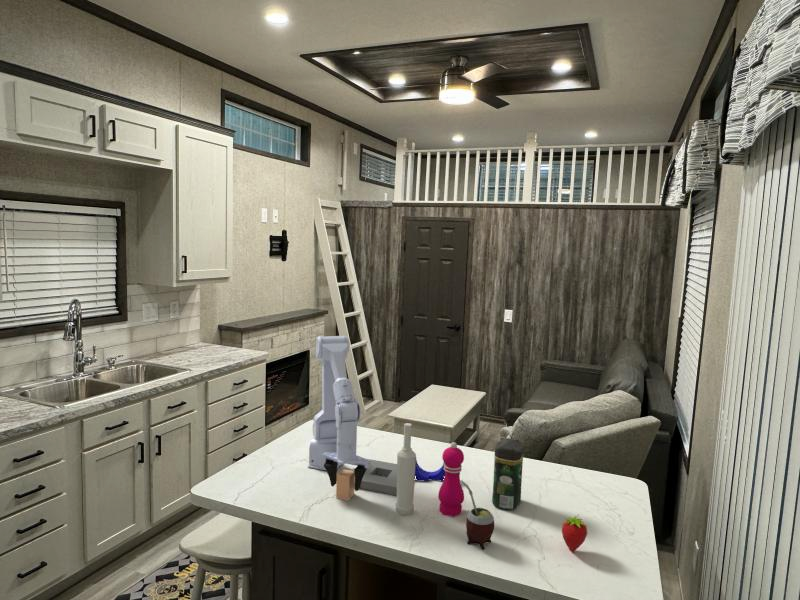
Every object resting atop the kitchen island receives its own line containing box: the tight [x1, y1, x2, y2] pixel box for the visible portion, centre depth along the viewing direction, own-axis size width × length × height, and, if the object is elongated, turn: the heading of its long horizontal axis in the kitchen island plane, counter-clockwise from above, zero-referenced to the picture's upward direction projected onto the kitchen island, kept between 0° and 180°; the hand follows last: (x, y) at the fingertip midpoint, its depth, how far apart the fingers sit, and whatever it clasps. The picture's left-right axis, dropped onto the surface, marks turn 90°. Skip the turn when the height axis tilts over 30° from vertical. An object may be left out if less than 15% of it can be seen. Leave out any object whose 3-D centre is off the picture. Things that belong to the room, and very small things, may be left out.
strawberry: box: [561, 514, 588, 553], centre depth 134 cm, size 6×8×10 cm
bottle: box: [394, 422, 417, 516], centre depth 150 cm, size 5×5×25 cm
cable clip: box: [415, 459, 445, 482], centre depth 172 cm, size 12×4×6 cm, turn 81°
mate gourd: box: [460, 479, 495, 550], centre depth 136 cm, size 8×8×15 cm
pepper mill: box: [437, 441, 465, 517], centre depth 151 cm, size 7×7×20 cm
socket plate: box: [354, 458, 397, 496], centre depth 170 cm, size 16×16×2 cm
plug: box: [335, 468, 355, 501], centre depth 159 cm, size 4×4×7 cm
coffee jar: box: [491, 437, 525, 511], centre depth 157 cm, size 10×8×19 cm
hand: (345, 487), depth 159 cm, fingers open, 7 cm apart
